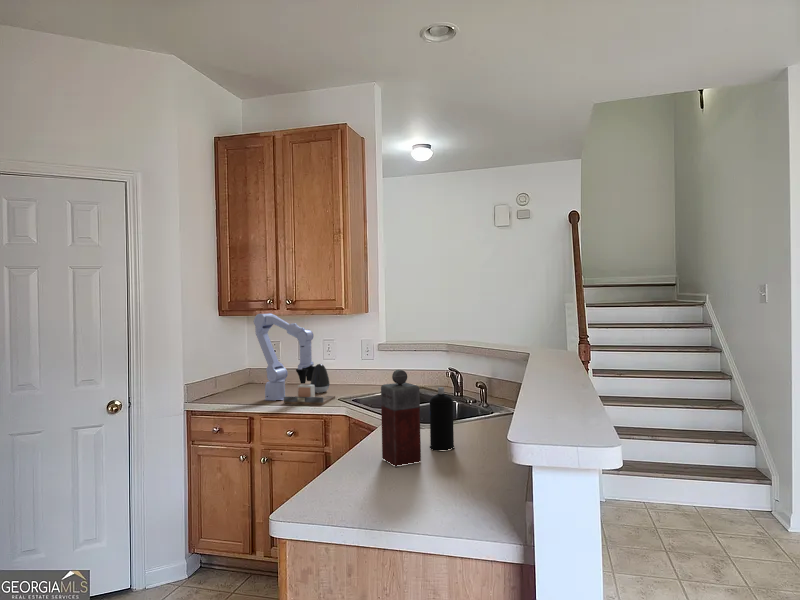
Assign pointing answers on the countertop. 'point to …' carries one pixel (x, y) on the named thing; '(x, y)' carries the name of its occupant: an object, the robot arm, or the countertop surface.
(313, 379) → the black rounded upright piece
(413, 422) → the pepper mill
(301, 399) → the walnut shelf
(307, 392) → the cream box
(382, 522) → the countertop surface
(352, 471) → the countertop surface
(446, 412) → the aerosol can
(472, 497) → the countertop surface
